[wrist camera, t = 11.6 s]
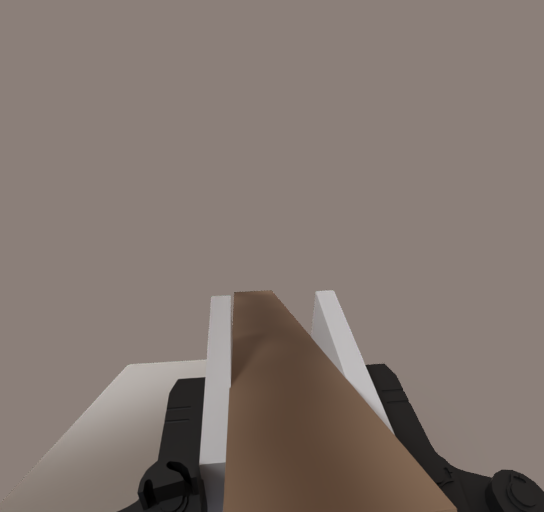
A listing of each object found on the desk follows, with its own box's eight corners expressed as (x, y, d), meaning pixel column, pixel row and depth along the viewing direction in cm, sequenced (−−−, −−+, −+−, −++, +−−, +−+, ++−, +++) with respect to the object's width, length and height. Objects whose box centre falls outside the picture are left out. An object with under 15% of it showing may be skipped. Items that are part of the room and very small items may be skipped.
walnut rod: (231, 778, 5) (221, 537, 5) (235, 329, 33) (234, 292, 33) (462, 735, 5) (457, 508, 5) (272, 327, 33) (271, 290, 33)
